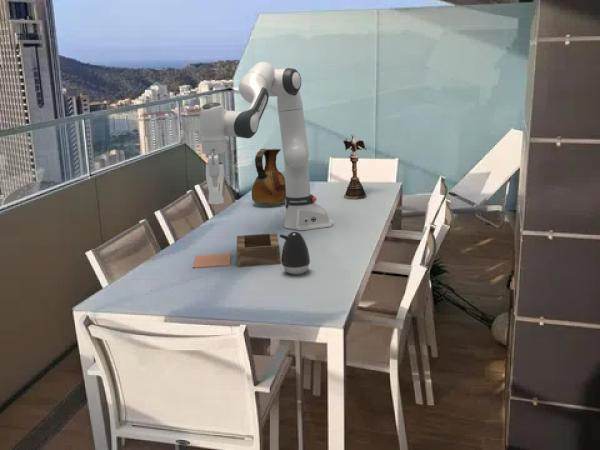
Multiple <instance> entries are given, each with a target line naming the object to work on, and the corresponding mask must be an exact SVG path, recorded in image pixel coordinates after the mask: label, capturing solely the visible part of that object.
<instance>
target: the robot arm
mask: <svg viewBox="0 0 600 450" xmlns="http://www.w3.org/2000/svg"><path fill="white" fill-rule="evenodd" d="M301 87H302V76H301V74H300V73H299V71H298V70H297V69H296V68H290V67H287V68H274V67H273V65H272V64H270V63H269V62H266V61H259V62H257V63H255V64H254V65H253V66H252V67H250V68H249V70H248V71H247V72H246V73H245V74H244V76H243V77H242V78H241V80H240V81H239V85H238V91H239V94H240V95H241V97H242V99H243V100H244V101H246V102H247V103H249V104H250V106H249V108H248V109H246V110H245V109H244V110H228V109H225V108H224V107H223V105H222V104H221V103H220V102H210V103H209V102H208V103H206V104H204V105H202V106H201V107H200V113H199V114H200V115H199V116H200V117H199V119H200V120H199V125H200V131H201V138H200V140H201V141H200V143H201V154H203V155H205V158H206V159H207V160H208V161H207V163H208V168H209V177H212V182H213V187H218V176H219V173H220V169H219V164H220V162H222V158H223V157H224V156H223V155H224V153H226V152H227V147H226V146H227V145H226V144H227V143H226V137H229V138H230V137H232V138H234V137H235V138H242V139H251V138H253V137H254V136H255V134H256V133H257V131H258V129H259V124H260V120H261V119H262V116H263V114H264V112H265V110H266V107H267V105H268V102H269V97H276V99H277V100H276V103H277V104H276V105H277V115H278V122H279V129H280V136H281V139H280V140H281V147H282V154H283V161H284V162H283V164H284V177H285V188H286V196H285V202H284V206H285V217H284V218H285V221H284V224H283V226H284V228H286V229H292V230H297V231H307V230H308V231H309V230H315V229H323V228H331V227H332V226H333V225H334V222H333V220H332V219H331V218H329V216H328V212H327V211H326V209H325V208H324V207H322V206H320V205H319V204H317V203H316V201H317V197H316V196H315V195H313V194H311V188H310V187H311V186H310V169H309V164H310V163H309V158H310V157H309V155H310V153H309V146H308V138H307V131H306V122H305V115H304V107H303V101H302V96H301V93H300V89H301Z"/></svg>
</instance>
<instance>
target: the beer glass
mask: <svg viewBox="0 0 600 450" xmlns="http://www.w3.org/2000/svg"><path fill="white" fill-rule="evenodd" d="M219 169H220V173H219V176H218V187H213V182H212V177H209V168H208V162H206V163H205V179H206V185H207V189H208V201H207V203H208V204H210V205H222V204H225V197H224V187H225V178H226V177H225V175H226V172H225V164H224V161H223V162H222V161H221V162H220V164H219Z"/></svg>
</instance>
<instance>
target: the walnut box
mask: <svg viewBox="0 0 600 450" xmlns="http://www.w3.org/2000/svg"><path fill="white" fill-rule="evenodd" d="M280 253H281V251H280V243H279V236H278V233H277V232H271V233H270V232H269V233H260V234H259V233H257V234H244V235H243V234H242V235H236V258H237V259H236V260H237V268H239V267H253V266H255V267H256V266H268V265H281V254H280Z"/></svg>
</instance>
